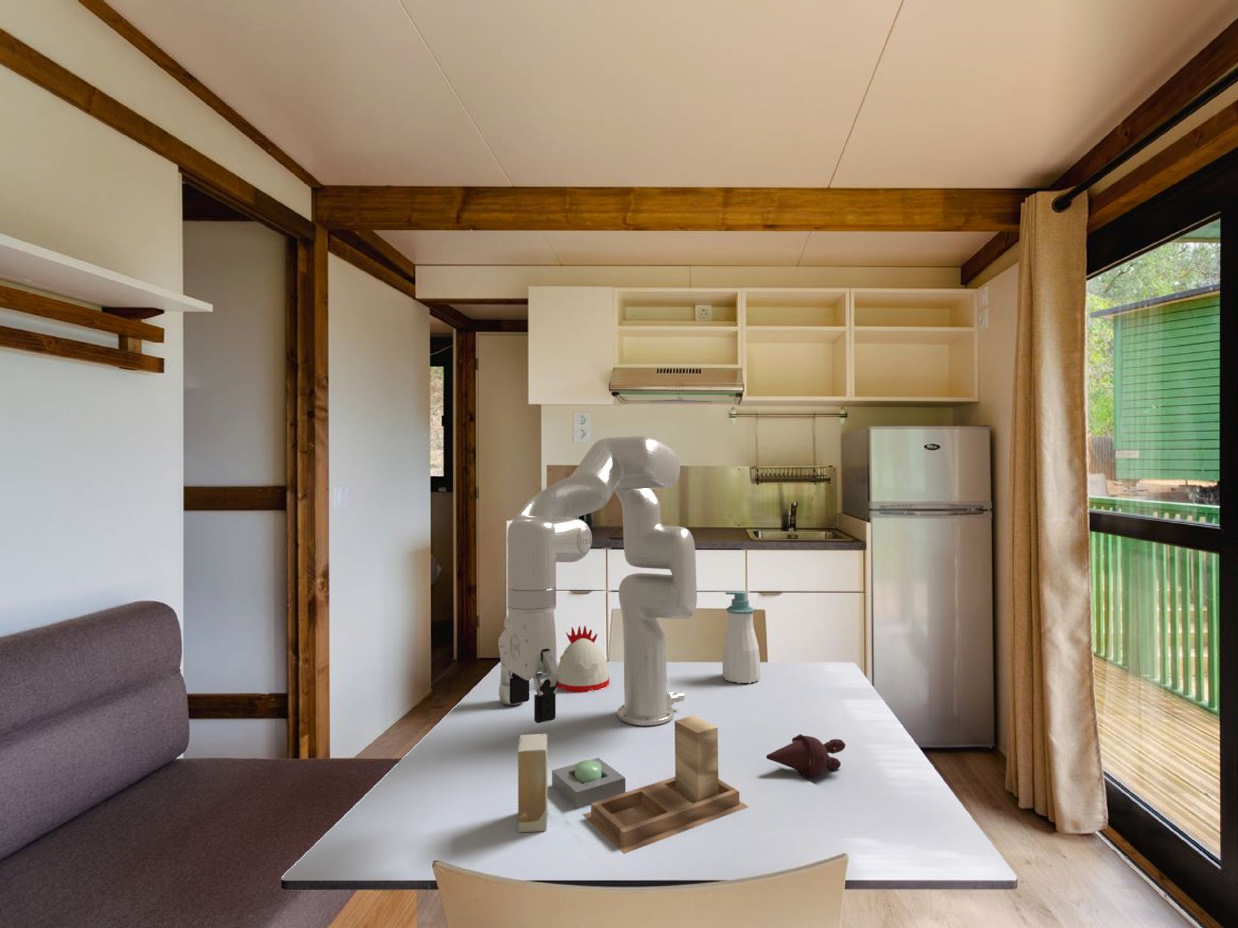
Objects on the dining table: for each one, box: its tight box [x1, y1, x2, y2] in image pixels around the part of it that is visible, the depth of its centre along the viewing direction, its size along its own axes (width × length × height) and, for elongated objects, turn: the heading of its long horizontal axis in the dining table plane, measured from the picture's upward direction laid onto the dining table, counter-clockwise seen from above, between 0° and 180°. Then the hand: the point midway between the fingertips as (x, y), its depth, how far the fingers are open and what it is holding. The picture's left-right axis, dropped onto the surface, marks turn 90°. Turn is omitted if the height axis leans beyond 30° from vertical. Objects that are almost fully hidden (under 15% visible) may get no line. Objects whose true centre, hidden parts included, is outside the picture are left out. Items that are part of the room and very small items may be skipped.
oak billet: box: [674, 715, 719, 804], centre depth 99 cm, size 4×6×12 cm, turn 32°
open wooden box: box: [582, 776, 749, 854], centre depth 96 cm, size 23×12×3 cm, turn 121°
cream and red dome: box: [557, 625, 610, 693], centre depth 162 cm, size 14×14×15 cm
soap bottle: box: [722, 591, 761, 684], centre depth 165 cm, size 10×10×23 cm
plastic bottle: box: [498, 617, 524, 706], centre depth 148 cm, size 6×7×20 cm
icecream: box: [766, 733, 846, 779], centre depth 110 cm, size 7×7×15 cm
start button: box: [575, 759, 601, 784], centre depth 103 cm, size 4×4×4 cm
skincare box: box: [517, 733, 549, 833], centre depth 95 cm, size 6×4×12 cm
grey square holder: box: [551, 757, 627, 810], centre depth 103 cm, size 9×9×4 cm
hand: (531, 710), depth 96 cm, fingers open, 9 cm apart
